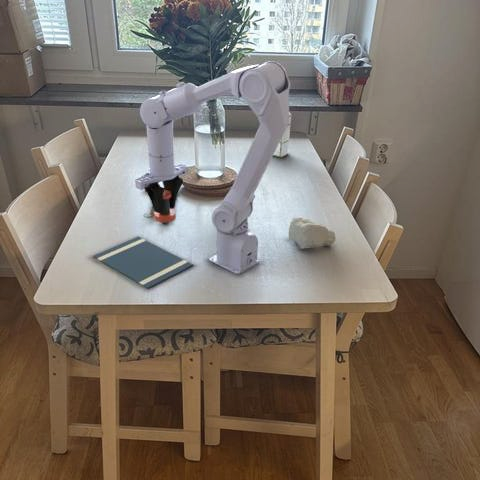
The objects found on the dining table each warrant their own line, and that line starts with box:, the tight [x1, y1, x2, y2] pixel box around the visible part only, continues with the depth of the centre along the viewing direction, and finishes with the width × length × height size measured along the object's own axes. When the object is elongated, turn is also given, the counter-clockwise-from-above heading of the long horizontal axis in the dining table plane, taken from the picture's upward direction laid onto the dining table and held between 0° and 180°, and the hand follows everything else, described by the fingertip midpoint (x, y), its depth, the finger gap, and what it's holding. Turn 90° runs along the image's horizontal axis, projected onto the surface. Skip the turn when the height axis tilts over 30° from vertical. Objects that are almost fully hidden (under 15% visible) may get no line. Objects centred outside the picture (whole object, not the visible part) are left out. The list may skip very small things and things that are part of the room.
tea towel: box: [92, 236, 194, 290], centre depth 120 cm, size 20×14×1 cm
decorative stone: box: [288, 217, 336, 250], centre depth 128 cm, size 11×9×10 cm
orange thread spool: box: [153, 190, 177, 224], centre depth 121 cm, size 5×5×6 cm
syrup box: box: [272, 112, 292, 158], centre depth 180 cm, size 6×6×14 cm
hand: (164, 209), depth 122 cm, fingers closed on orange thread spool, 3 cm apart
